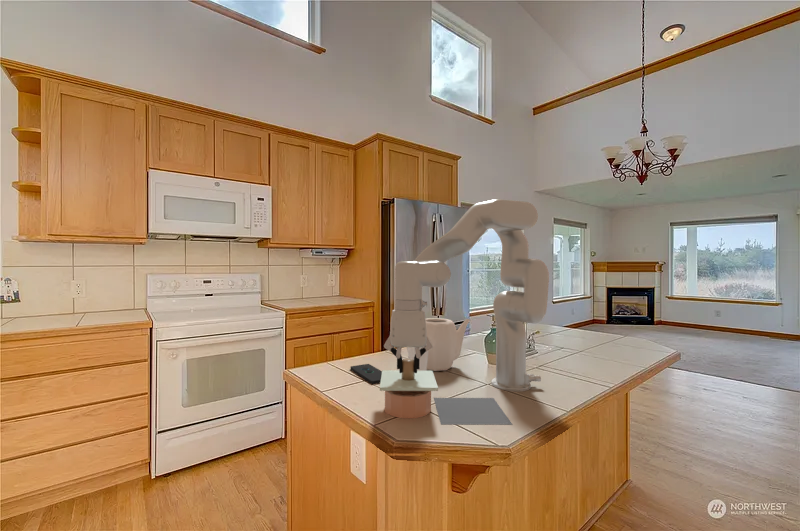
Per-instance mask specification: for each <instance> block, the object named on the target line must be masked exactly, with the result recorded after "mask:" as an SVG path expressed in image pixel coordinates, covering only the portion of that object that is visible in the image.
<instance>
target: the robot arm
mask: <svg viewBox="0 0 800 531" xmlns="http://www.w3.org/2000/svg"><path fill="white" fill-rule="evenodd" d="M538 217H539V212H538V209H537V207H536V206H535V205H534V204H533V203H531V202H528V201H521V200H510V199H504V198H503V199H500V198H499V199H497V198H496V199H491V200H487V201H486V200H485V201H482V202H477V203H475V204H473V205H472V206H470V207H469V208H468V209H467V211H466V212H465V213H464V214H463V215H462V216H461V218H459V220H458V221H457V222H456V223H454V225H453V227H452V228H451V229H449V231H447V233H445V234H443V235H442V236H441V237H439V238H438V239H436V240H434V241H433V242H432V243H431V244H429V245H428V246H427V247H425V248H424V249H423V250H422V251H421V252H420V253H419V254H418V255H417V256H416V258H415V259H414V260H413V261H410V260H409V261H408V260H407V261H398V262H397V263H396V264H395V266H394V309H392V311H391V317H390V323H389V324H390V329H389V336H388V338H387V339H386V341H385V343H384V345H383V347H384V349H386V350H387V351H389V352H391V353H392V355H394V356H395V358H396V361H397V362H396V370H399V372H400V373H402V360H403V356H402V348H407V347H415V352H416V354H415V357H414V373H417V369H419V358H420V357H421V356H422V355H423V354H424V353H425V352H426V351H428V350H430V349H431V348H432V347H433V346H432V344H431V342H430V341H429V339H428V337H427V331H426V313H425V310H424V309H423V308H424V307H428V301H425V300H423V287H429V288H430V287H431V288H441V287H444V286H445V285H447V284H448V282H450V279H451V278H452V277H451V275H452V273H451V269H450V267H449V266H448V264H446V263H445V262H447V261H448V260H451V259H453V258H456V257H459V256H462V255H464V254H466V253H467V252H469V251H470V250H472V248H473V247H474V246H475V244H476V243H477V242H478V241H479V240H480V239H481V237H482V236H483V235H484V234H485V233H486V231H488V230H490V229H493V230H494V231H493V232H495V233H496V234H497V236H498V237H499V239H500V242H501V263H500V281H501V283H502V284H503V285H504V286H506V287H511V288H518V289H519V288H520V289H524V291H514V290H505V291H504V290H503V291H501V292H499V293H498V294H497V295H495V297H494V300H493V303H492V304H493V308H492V309H493V313H494V318H495V329H496V330H495V332H496V333H495V337H496V338H495V339H496V340H495V377H494V378H492V379H491V380H490V381H491V382H490V383H491V386H493V387H494V388H496V389H499V390H503V391H506V392H507V391H508V392H526V391H529V390H530V389H531V388H532V387H531V386H532V385H531V384H532V382H541V381H542V378H541V377H542V376H541V375H538V374H537V375H535V374H534V373H528V372H527V366H526V364H527V361H526V360H527V354H526V353H527V333H526V332H527V331H526V328H525V326H524V323H527V324H539V323H540V322H542V321H543V320H544V318H545V316H546V313H547V308H548V298H549V284H550V283H549V282H550V273H549V268H548V266H547V265H546V263H545V262H544V261H542V259H538V258H529V242H528V239H527V237H526V235H525V233H524V232H523V230H529V229H531V228H533V227H534V226H535V225H536V224H537V222H538ZM425 345H426V346H425ZM419 347H422V348H421V349H420V348H419Z"/></svg>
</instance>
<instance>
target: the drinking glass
mask: <svg viewBox="0 0 800 531" xmlns="http://www.w3.org/2000/svg"><path fill="white" fill-rule="evenodd" d="M425 346H426V345H425ZM419 348H420V349H421V348H422V347H419ZM415 354H416V352H415V347H408V350H407V356H408V358H407V359H413V360H414V357H415ZM427 363H428V351H426V352H425V353H424V354H423V355H422V356H421V357H420V358H419V369H417V371H428V370H427Z"/></svg>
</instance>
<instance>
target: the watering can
mask: <svg viewBox="0 0 800 531" xmlns="http://www.w3.org/2000/svg"><path fill="white" fill-rule="evenodd" d="M425 319H426V331H427V337H428V339H429V341H430V342H431V344H432V346H433V347H432V348H431V349H430V350H428V363H427V371H433V372H439V371H448V370H449V369H451V368H452V366H453V363H454V361H456V360H457V359H458V358H459V357H460V356H461V353H462V352H461V351H462V348H463V342H464V338H465V332H466V331H467V326H468V324H469V323H470V321H471V319H470V318H466V319H465V320H464V321H463V322H462V323H461V324H460V325H459V327H458V328H457V326H456V325H455V322H454V321H453V320H451V319H450V318H449V319H447V318H443V317H429V318H428V317H425ZM406 350H407V351H408V347H406Z"/></svg>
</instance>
